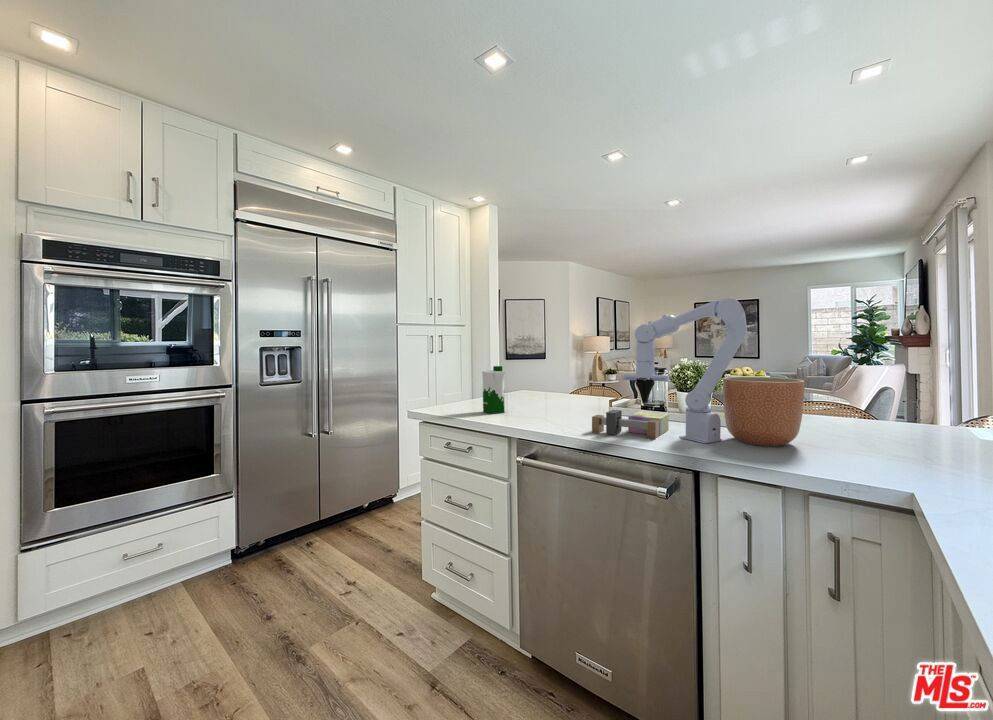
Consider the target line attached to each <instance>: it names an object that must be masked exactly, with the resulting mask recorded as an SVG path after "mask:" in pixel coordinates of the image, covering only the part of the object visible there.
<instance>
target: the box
mask: <svg viewBox="0 0 993 720" xmlns="http://www.w3.org/2000/svg"><path fill="white" fill-rule="evenodd" d="M669 415H670V414H669V413H660V412H650V411H640V410H639V411H637V412H635V413H632V414H630V415H628V418H627V419H630V420H641V421H650V420H651V419H652V420H659V436H662V434H664V433H666V432H667V431H668V430H669V429H670V428H669V426H670V425H669V424H670V422H669V420H670V418H669V417H670V416H669ZM627 428H628V429H627V430H628V433H633V434H642V435H647V429H640V428H630V427H627Z"/></svg>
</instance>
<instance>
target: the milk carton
mask: <svg viewBox="0 0 993 720" xmlns="http://www.w3.org/2000/svg"><path fill="white" fill-rule="evenodd" d="M481 374H482V410H483V411H482V412H483V413H486V414H489V415H493V414H494V415H495V414H504V413H505V377H506V370H503V366H502V365H493V368H492V370H482V372H481Z"/></svg>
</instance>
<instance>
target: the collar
mask: <svg viewBox="0 0 993 720" xmlns="http://www.w3.org/2000/svg"><path fill="white" fill-rule="evenodd" d="M605 414H606V415H605V417H606V425H605V435H613V436H614V435H615V436H616V435H618V434H619V433H620V432H622V427H620V426H617V418H618V419H623V418H622V417H623V416H622V410H621V409H612V410H609V411H607V412H606V413H605Z"/></svg>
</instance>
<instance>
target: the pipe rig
mask: <svg viewBox="0 0 993 720" xmlns="http://www.w3.org/2000/svg"><path fill="white" fill-rule="evenodd" d="M604 426H606V416H604V414H603V415H602V414H595V415H593V416H591V433H593V434H600V432H601V433H602V432H604V430H605V427H604ZM617 426H620V427H621V428H628V427H630V428H640V429H647V434H646V437H647V438H649V440H657V439H658V438H659V420H652V419H651V420H650V421H641V420H630V419H628V418H627V419H626V418H622V419H618V418H617ZM657 437H658V438H657ZM656 438H657V439H656Z"/></svg>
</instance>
